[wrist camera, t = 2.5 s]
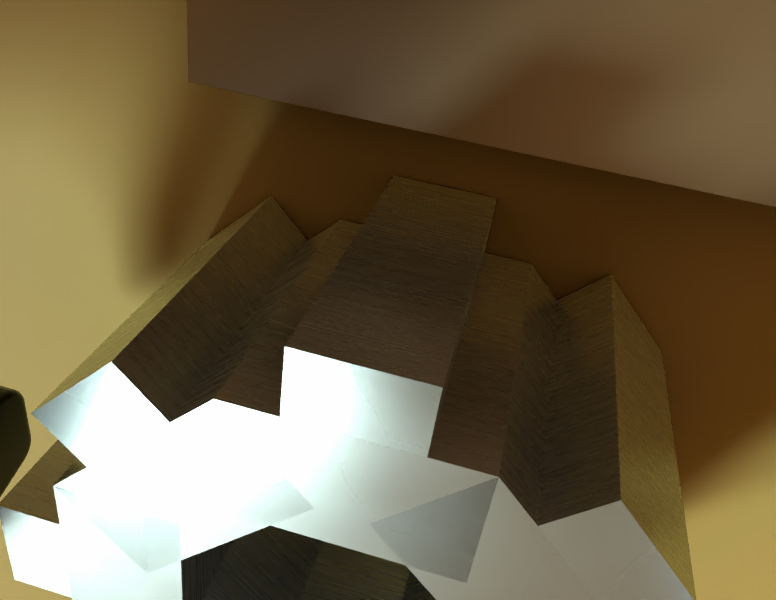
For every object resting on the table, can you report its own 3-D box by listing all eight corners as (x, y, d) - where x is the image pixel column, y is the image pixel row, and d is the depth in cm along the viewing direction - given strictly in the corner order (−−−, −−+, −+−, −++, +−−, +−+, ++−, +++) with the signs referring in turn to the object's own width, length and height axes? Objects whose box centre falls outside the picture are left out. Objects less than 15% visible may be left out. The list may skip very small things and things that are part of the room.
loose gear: (175, 516, 12) (47, 716, 9) (158, 122, 9) (-62, 256, 6) (582, 637, 11) (578, 901, 9) (764, 257, 8) (867, 498, 5)
